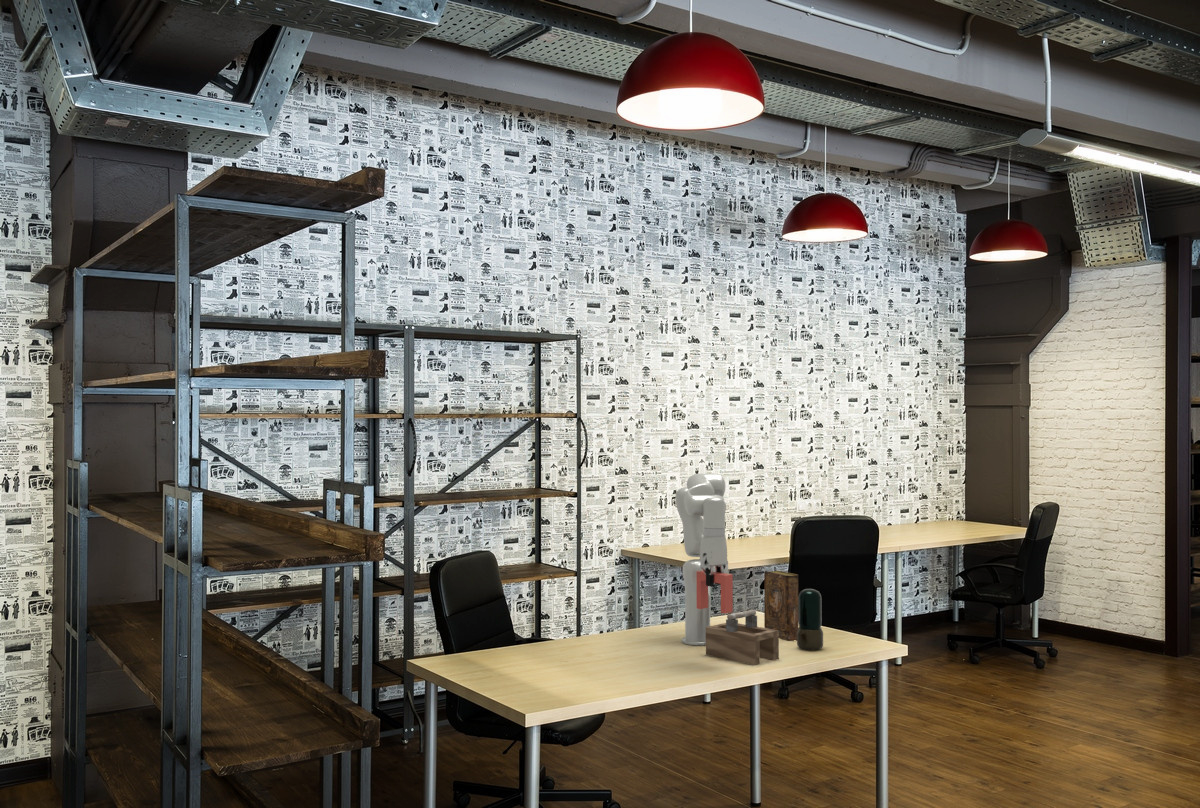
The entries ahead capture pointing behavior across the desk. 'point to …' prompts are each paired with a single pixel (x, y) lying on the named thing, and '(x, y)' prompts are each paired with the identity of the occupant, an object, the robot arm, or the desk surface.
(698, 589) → the red arch block
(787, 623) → the book
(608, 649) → the desk surface
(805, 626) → the lamp
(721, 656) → the tan hollow frame
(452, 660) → the desk surface
